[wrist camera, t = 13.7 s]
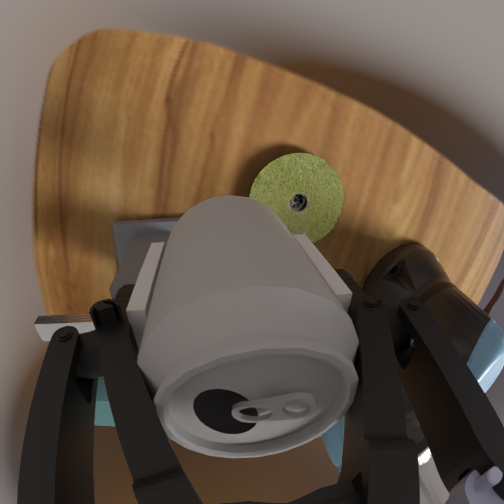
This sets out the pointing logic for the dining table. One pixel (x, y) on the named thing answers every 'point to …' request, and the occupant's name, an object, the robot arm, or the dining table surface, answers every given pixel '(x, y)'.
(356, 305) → the robot arm
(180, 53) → the dining table surface
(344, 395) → the can
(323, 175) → the mat
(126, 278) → the grey pedestal post
